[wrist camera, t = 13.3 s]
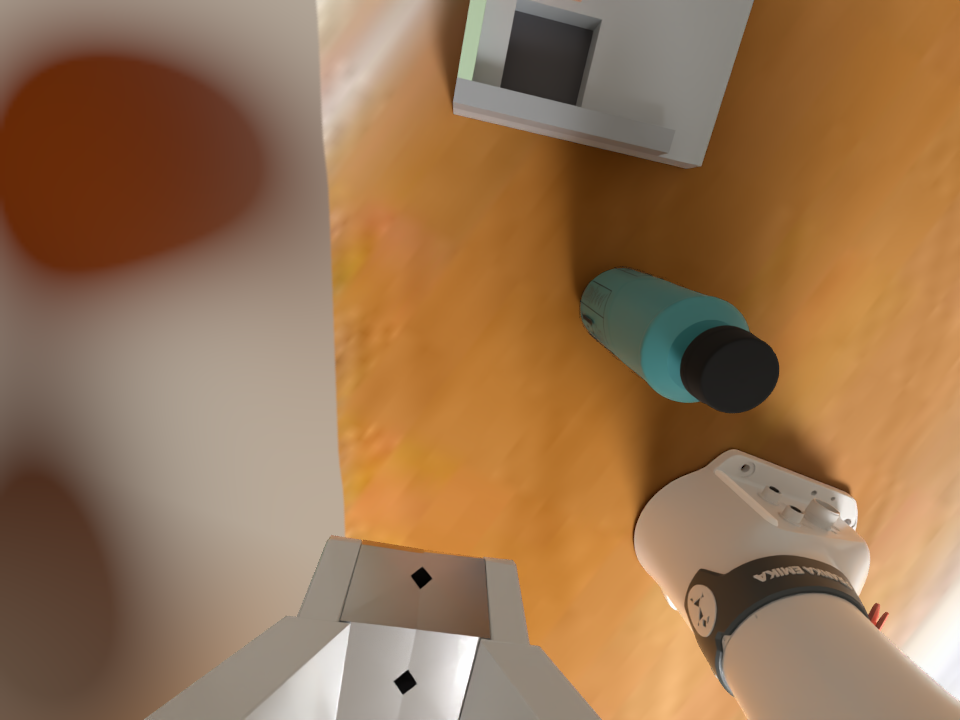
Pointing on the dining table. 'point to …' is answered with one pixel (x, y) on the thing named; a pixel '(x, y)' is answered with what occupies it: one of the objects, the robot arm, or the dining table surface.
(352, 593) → the robot arm
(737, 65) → the dining table surface
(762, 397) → the beverage bottle
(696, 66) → the tray
